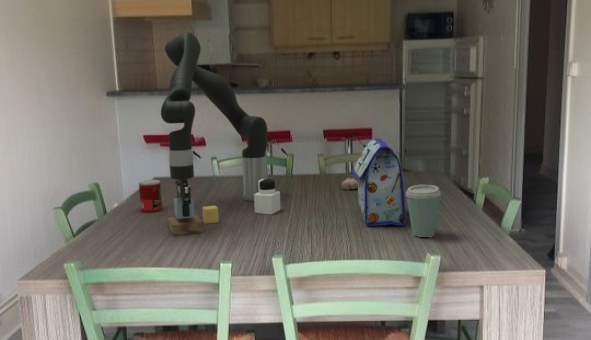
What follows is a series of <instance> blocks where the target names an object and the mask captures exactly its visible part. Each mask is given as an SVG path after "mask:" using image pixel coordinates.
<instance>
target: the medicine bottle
mask: <svg viewBox="0 0 591 340" xmlns="http://www.w3.org/2000/svg"><path fill="white" fill-rule="evenodd" d="M258 185H259V191H260V192H258V193H256V194H254V201H253V202H254V203H253V204H254V213H255V214H263V215H272V216H273V215H274V214H276V213H278V212H279V211H281V192H280V191H278V190H276V181H275V180H274V178H273V179H272V178H268V179H262V180H260V181H259V182H258Z"/></svg>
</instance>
